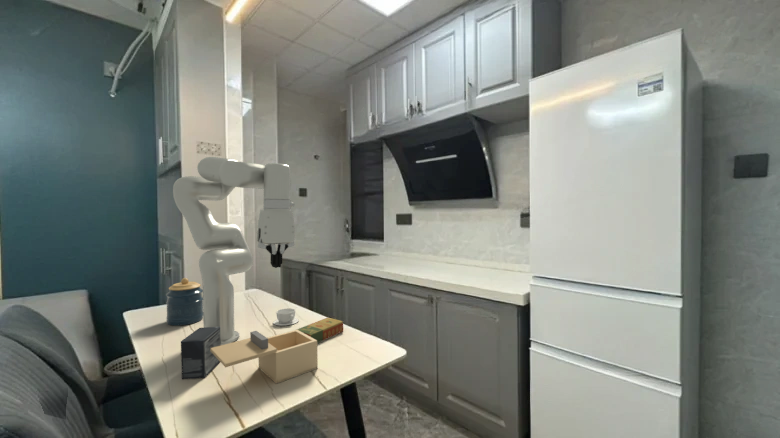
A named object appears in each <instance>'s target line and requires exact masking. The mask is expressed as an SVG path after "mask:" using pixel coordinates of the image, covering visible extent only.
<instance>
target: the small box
mask: <svg viewBox="0 0 780 438" xmlns="http://www.w3.org/2000/svg"><path fill="white" fill-rule="evenodd" d="M217 346H221V339H220V327H205V328H204V327H198V328H197V329H196V330H195V331H193V332H191V333H190V334H189V335H187V336H186V337H184V338H183V339H182V340H180V355H181V356H180V357H181V360H180V361H181V363H180V364H181V379H182V380H195V379H196V380H197V379H205V378H207V376H209V375H210V374H211V372H212V371H214V369H215V368H216V367H217V366H218V365H219V364H220V363H221V362H220V361H219V360H218V359H217V358H216V357H215V356H214V354H213V353H212V352H211V349H210V348H213V347H217Z"/></svg>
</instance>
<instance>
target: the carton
mask: <svg viewBox="0 0 780 438" xmlns="http://www.w3.org/2000/svg"><path fill="white" fill-rule="evenodd" d="M295 330H299V331H301V332H303V333H304V334H306V335H308V336H310V337H312V338H314V339H315V340H317V344H318V343H320V342H322V341H325V340H327V339H329V338H332V337H333V336H335V335H338V334H340V333H343V332H344V322H343V320H339V319H336V318H331V317H326V318H322V319H321V320H318V321H315V322H312V323H310V324H307V325H304V326H302V327H299V328H297V329H295Z"/></svg>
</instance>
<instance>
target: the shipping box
mask: <svg viewBox="0 0 780 438" xmlns="http://www.w3.org/2000/svg"><path fill="white" fill-rule="evenodd" d="M266 338H268V343H269V344H271V345H272V346H274V347H275V348H276V349H277V352H275V353H272V354H269V355H265V356H262V357H259V358H257V360H258V369H259V370H260V371H261V372H263V373H264V374H265V375H266V376H267V377H268V378H270V380H272V381H273V383H275V384H279V383H280V384H281V383H282V382H284V381H288V380H291V379H293V378H296V377H298V376H301V375H304V374H306V373H310V372H313V371H314V370H318V368H319V367H318V343H317V340H315V339H314V338H312V337H310V336H308V335H306V334H304V333H303V332H301V331H299V330H296V329H293V330H291V331H287V332H283V333H279V334H276V335H272V336H268V337H266Z"/></svg>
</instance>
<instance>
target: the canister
mask: <svg viewBox="0 0 780 438" xmlns="http://www.w3.org/2000/svg"><path fill="white" fill-rule="evenodd" d="M201 286H202V285H201V284H200V283H199V282H197V281H190V280H189V278H187V277H183V278H181V281H180V282H177V283H174V284H172V285H171V286H169V287H168V290H169V291H168V292H166V293H165V296H166V297H167V301H166V302H165V304H166V322H167V323H166V324H167V325H168V326H186V325H190V324H195V323H197V322H200V321H203V288H201Z"/></svg>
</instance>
